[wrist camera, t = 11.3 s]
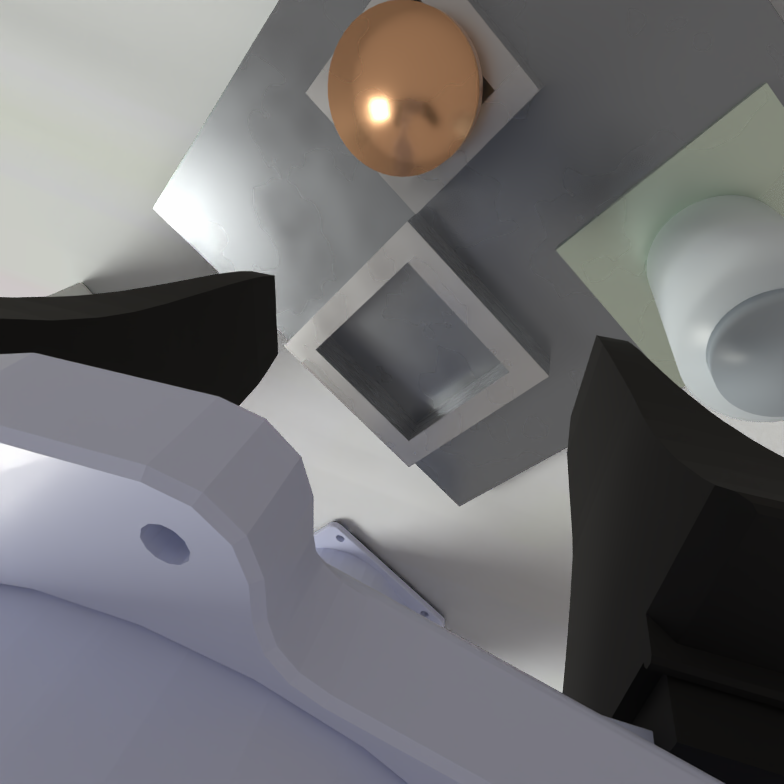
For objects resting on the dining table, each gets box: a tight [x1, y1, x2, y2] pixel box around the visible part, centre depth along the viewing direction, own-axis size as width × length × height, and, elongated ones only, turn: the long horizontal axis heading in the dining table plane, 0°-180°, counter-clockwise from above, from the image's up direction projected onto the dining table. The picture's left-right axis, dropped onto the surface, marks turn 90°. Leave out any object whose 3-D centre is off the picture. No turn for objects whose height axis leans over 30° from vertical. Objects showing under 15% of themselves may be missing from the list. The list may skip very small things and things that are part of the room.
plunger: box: [328, 0, 483, 177], centre depth 15 cm, size 4×4×4 cm
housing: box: [153, 0, 784, 506], centre depth 18 cm, size 19×19×4 cm
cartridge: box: [646, 195, 784, 422], centre depth 14 cm, size 4×4×7 cm
